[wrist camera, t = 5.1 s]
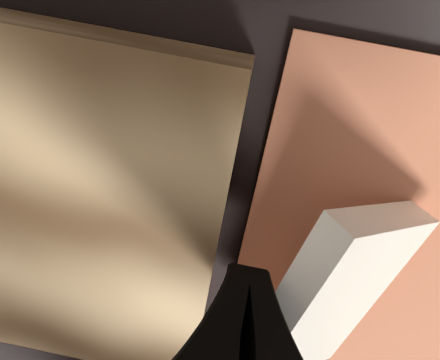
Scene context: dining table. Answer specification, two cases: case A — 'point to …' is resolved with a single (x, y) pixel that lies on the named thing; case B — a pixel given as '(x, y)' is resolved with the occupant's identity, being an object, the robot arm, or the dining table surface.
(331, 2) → the dining table surface
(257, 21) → the dining table surface
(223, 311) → the robot arm
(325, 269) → the card
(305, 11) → the dining table surface
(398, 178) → the mat
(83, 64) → the board
